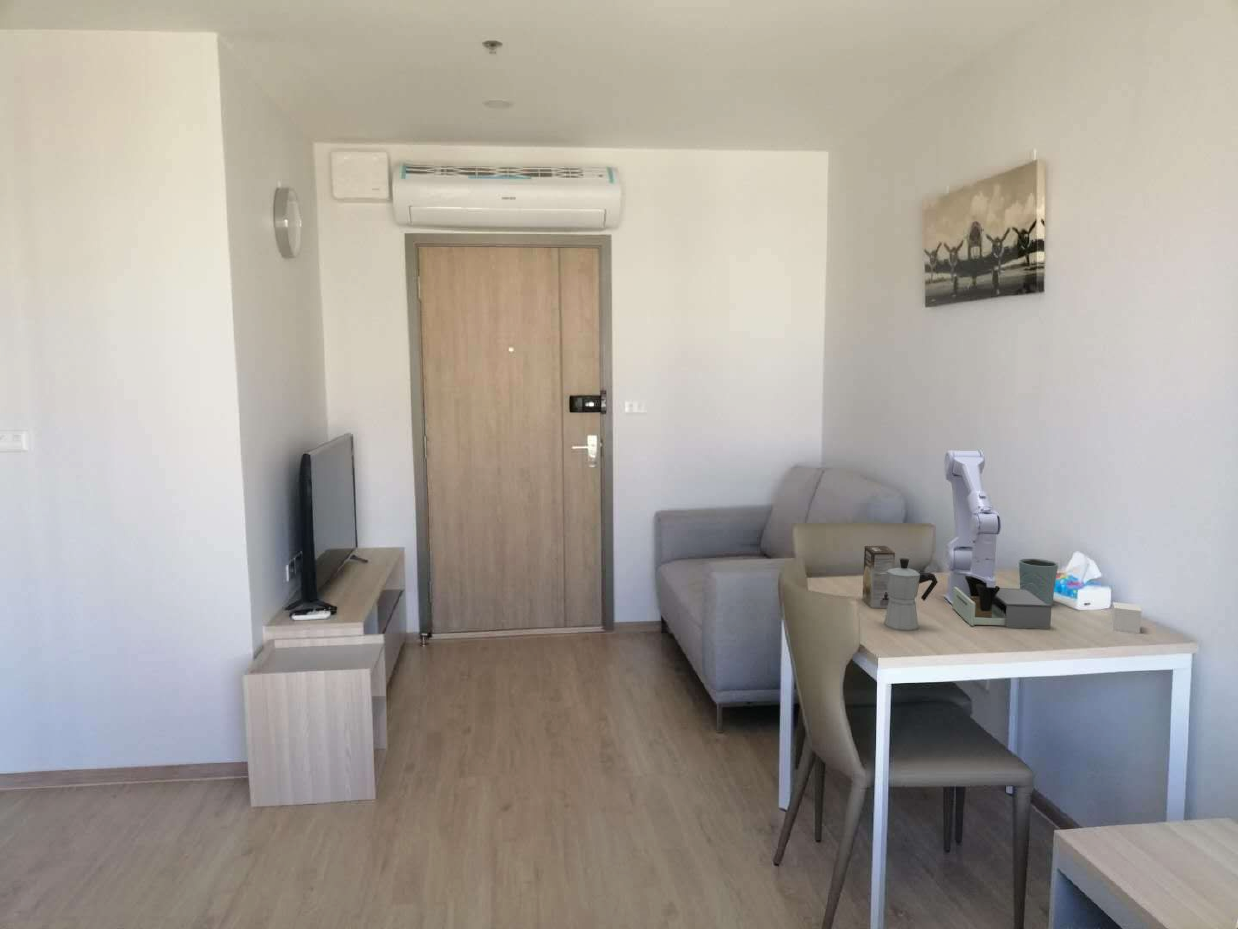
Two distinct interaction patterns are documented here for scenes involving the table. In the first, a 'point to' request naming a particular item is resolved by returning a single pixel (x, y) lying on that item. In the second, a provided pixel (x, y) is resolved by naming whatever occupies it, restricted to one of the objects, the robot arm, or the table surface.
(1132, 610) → the beige cube
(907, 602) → the coffee maker
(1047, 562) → the green plant pot
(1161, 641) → the table surface
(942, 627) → the table surface
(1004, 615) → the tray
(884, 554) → the coffee box
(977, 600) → the walnut block
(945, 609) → the table surface
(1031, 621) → the grey drawer box
